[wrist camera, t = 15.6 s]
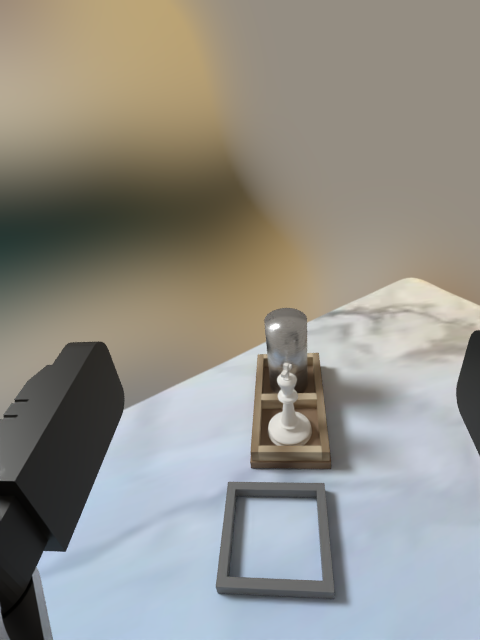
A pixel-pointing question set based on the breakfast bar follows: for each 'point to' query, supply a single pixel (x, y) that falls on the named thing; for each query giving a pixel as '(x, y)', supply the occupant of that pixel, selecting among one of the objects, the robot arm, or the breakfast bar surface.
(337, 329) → the breakfast bar surface
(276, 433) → the chess piece
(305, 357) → the steel peg
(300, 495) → the frame
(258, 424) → the wooden divided tray
